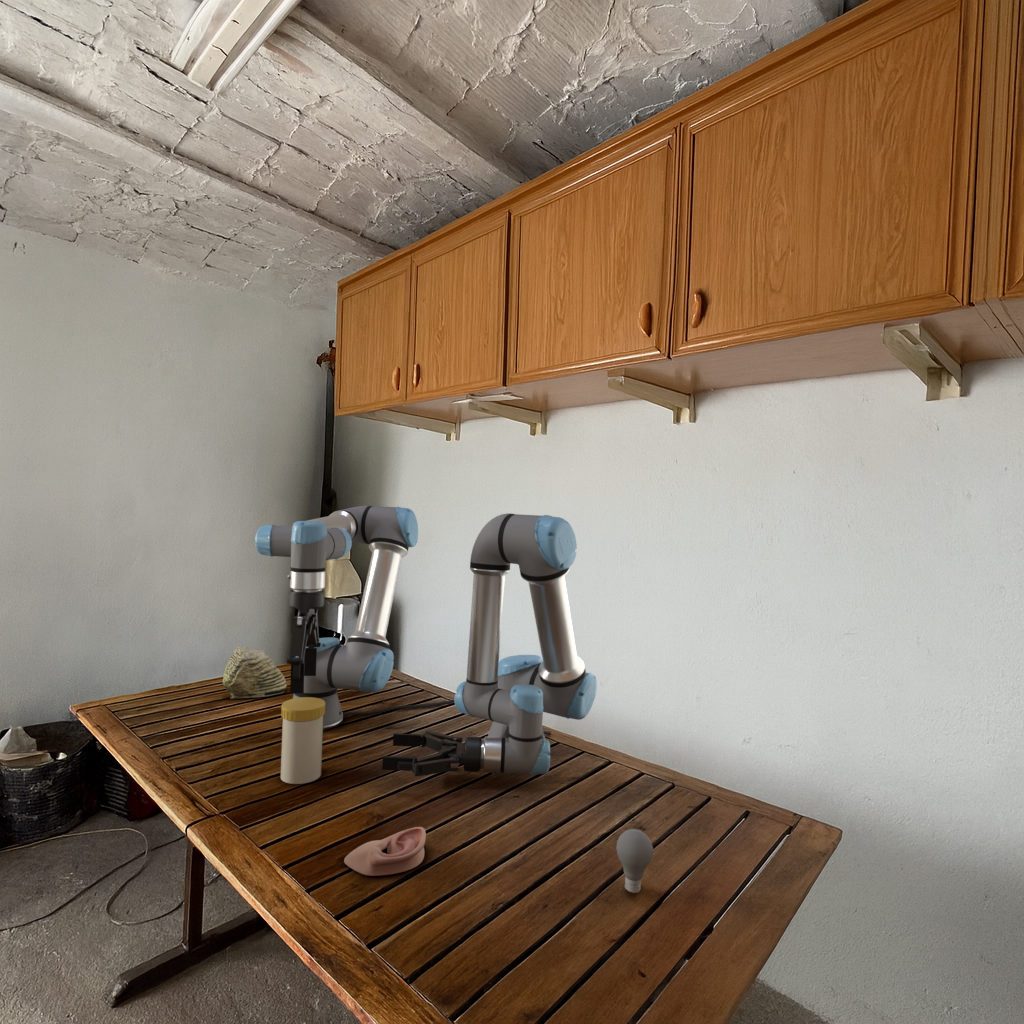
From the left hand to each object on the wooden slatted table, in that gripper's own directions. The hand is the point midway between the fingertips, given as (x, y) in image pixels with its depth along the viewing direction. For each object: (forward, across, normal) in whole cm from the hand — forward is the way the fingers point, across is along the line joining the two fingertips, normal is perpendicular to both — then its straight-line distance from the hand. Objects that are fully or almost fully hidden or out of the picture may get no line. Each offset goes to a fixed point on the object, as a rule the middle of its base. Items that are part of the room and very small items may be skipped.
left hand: (303, 684), depth 143 cm
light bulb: (+21, +45, +64) cm, 81 cm away
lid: (+5, 0, 0) cm, 5 cm away
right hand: (+14, +2, +20) cm, 24 cm away
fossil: (+21, -58, -26) cm, 67 cm away
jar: (+21, 0, 0) cm, 21 cm away
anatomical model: (+21, +34, +22) cm, 46 cm away
